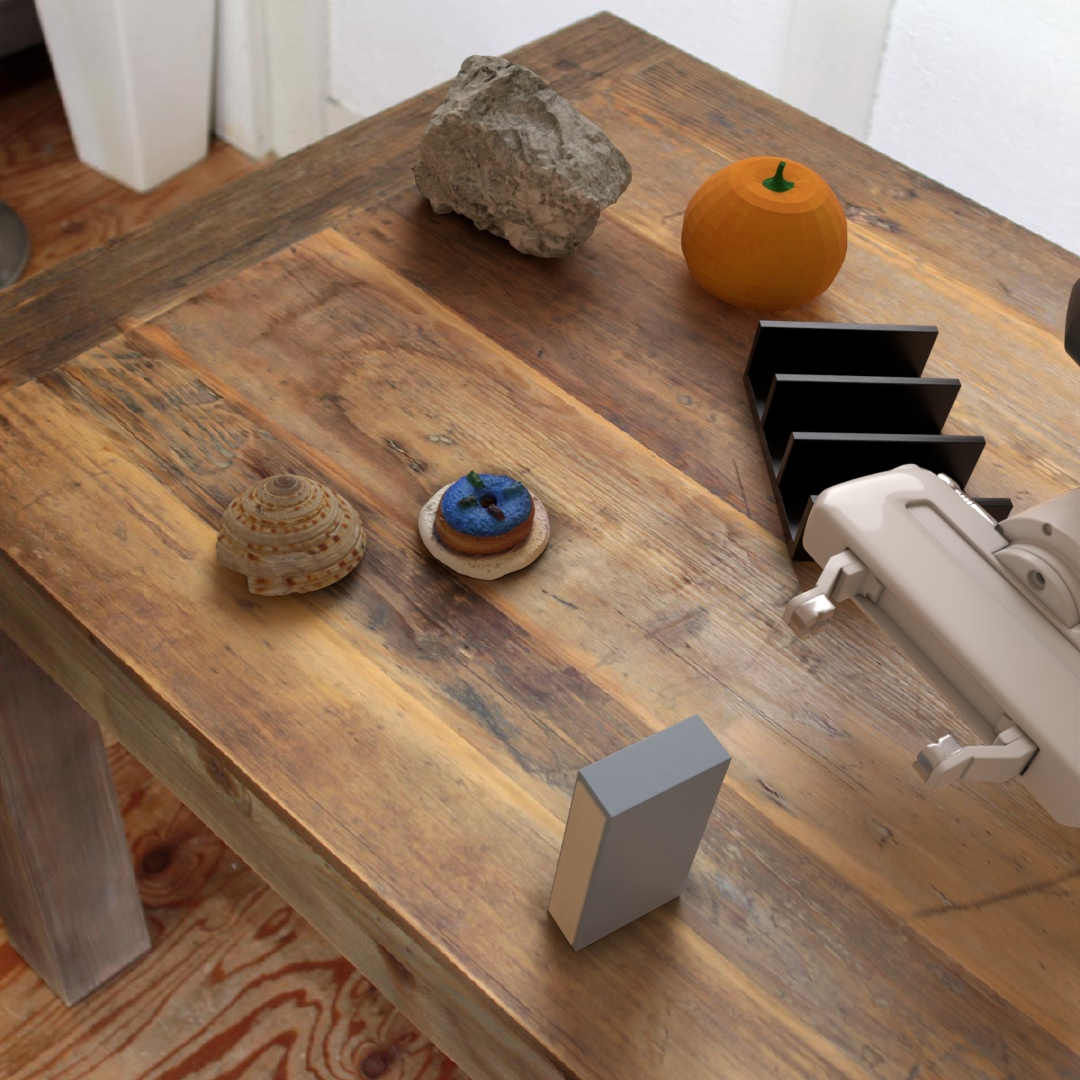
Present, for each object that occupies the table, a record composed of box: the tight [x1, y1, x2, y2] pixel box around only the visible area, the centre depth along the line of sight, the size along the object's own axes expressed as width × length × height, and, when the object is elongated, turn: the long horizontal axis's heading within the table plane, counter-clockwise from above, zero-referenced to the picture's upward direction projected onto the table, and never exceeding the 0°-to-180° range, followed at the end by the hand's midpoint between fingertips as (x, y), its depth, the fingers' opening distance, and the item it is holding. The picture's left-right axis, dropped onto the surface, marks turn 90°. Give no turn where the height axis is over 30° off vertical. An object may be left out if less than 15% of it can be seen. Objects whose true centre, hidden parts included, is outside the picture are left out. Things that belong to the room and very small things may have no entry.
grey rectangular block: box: [547, 713, 733, 952], centre depth 59 cm, size 2×6×12 cm, turn 121°
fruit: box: [680, 155, 848, 313], centre depth 94 cm, size 12×12×10 cm
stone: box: [411, 54, 633, 259], centre depth 96 cm, size 10×12×15 cm
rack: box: [742, 319, 1014, 563], centre depth 83 cm, size 12×16×5 cm
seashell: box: [215, 473, 368, 597], centre depth 75 cm, size 8×6×8 cm
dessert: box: [417, 469, 551, 581], centre depth 78 cm, size 8×7×6 cm
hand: (856, 693), depth 61 cm, fingers open, 8 cm apart
